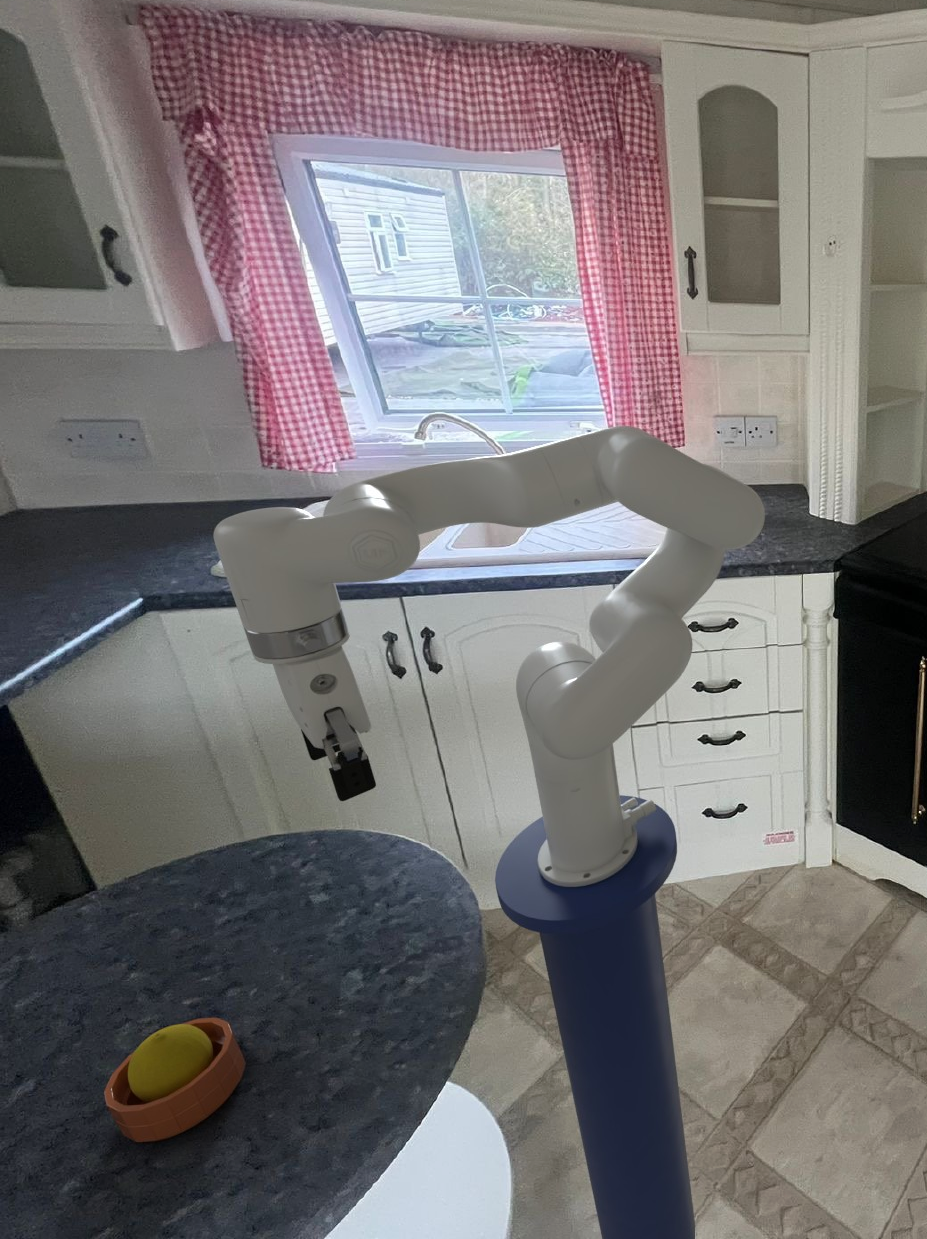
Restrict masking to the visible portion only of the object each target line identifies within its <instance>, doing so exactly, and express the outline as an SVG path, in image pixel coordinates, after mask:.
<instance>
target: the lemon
mask: <svg viewBox="0 0 927 1239" xmlns="http://www.w3.org/2000/svg"><path fill="white" fill-rule="evenodd" d="M134 1051H135V1052H134ZM134 1051H133V1052H134V1054H133V1055H132V1057H131V1059H130V1063H129V1067H128V1080H129V1084H130V1088H131V1090H132V1092H133V1093H134V1094H135V1095H136V1096H137V1097H138V1098H139V1099H141V1100H142V1101H144V1102H147V1103H150V1102H152V1101H155V1100H158V1099H161V1098H164V1097H166V1096H168V1095H170V1094H172V1093H173V1092H175V1091H177V1090H179V1089H180V1088H182V1087H184V1086H185V1085H187V1084H189V1083H190V1082H191V1081H193V1080H194V1079H195V1078H196V1077H197V1076H199V1075H200V1074H201V1073H202V1072H203V1071H204V1070H206V1069H207V1068H208V1067H209V1066H210V1065H211V1063H212V1062H213V1046H212V1043H211V1041H210V1039H209V1038H208V1036H207V1035H206V1034H205V1033H204V1032H203V1031H202V1030H201V1029H199V1028H197V1027H195V1026H192V1025H188V1024H183V1023H180V1024H173V1025H169V1026H166V1027H163V1028H161V1029H159V1030H157V1031H155V1032H153V1033H152V1034H151V1035H149V1036H147V1038H146V1039H145V1040H144V1041H142V1042H141V1043H140V1045H139V1046H138V1047H137V1048H136V1049H135V1050H134Z"/></svg>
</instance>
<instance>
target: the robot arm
mask: <svg viewBox="0 0 927 1239" xmlns="http://www.w3.org/2000/svg"><path fill="white" fill-rule="evenodd" d="M615 503H616V504H617V503H619V504H620V505H621V506H623V507H625V508H626V509H627V510H629V511H630V512H633V513H634V514H637V515H639V516H641V517H642V518H645V519H647V520H649V521H651V522H653V523H655V524H657V525H660V526H662V527H664V528H666V531H665V534H664V536H663V538H662V540H661V542H660V543H659V544H658V546H657V547H656V548H655V550H653V552H652V553H651V554H650V555H649V556H648V557H647V558H646V559H645V560H644V561H643V562H642V563H641V564H639V566H637V567H636V569H634V570H633V571H632V572H631V573H630V574H628V576H627V577H625V578H624V579H623V580H622V581H621V582H620V583H619V584H617V586H616V587H614V588H613V590H611V591H610V592H609V593H608V594H607V595H606V596H604V597H603V599H601V600H600V601H599V603H598V604H597V605H596V606H595V607H594V609H593V610H592V612H591V614H590V618H589V623H588V624H589V626H588V627H589V632H590V634H591V636H592V639H593V640H594V642H595V643H596V645H597V647H598V648H599V650H600V651H601V654H600V655H599V656H598V657H597V658H595V656H594V655H593V654H591V652H589V651H588V650H587V649H585V648H584V647H582V645H581V646H580V645H578V644H576V643H573V642H569V641H552V642H548V643H545V644H542V645H541V646H538V647H537V648H535V649H534V650H533V651H531V652H530V653H529V654H527V656H526V657H525V658H524V660H523V661H522V663H521V664H520V666H519V669H518V672H517V675H516V681H515V691H516V697H517V702H518V706H519V710H520V713H521V717H522V720H523V725H524V728H525V733H526V736H527V741H528V745H529V751H530V756H531V761H532V767H533V771H534V777H535V783H536V788H537V794H538V799H539V804H540V810H541V815H542V817H543V820H544V826H545V831H546V836H547V839H546V841H545V842H544V843H543V845H542V846H541V848H540V851H539V853H538V860H537V861H538V867H539V870H540V873H541V875H542V876H543V877H544V879H546V880H547V881H549V882H550V883H553V884H555V885H558V886H564V887H579V886H586V885H590V884H593V883H597V882H599V881H602V880H604V879H606V878H608V877H610V876H612V875H613V874H615V873H616V872H618V871H619V870H620V869H622V868H623V867H624V866H625V865H626V864H627V863H628V862H629V861H630V859H631V858H632V857H633V855H634V853H635V851H636V848H637V844H638V839H637V832H636V829H635V827H634V826H635V825H637V821H638V820H640V819H642V818H645V817H647V816H648V815H650V814H652V813H653V812H655V811H656V806H655V804H656V803H655V802H654V801H653V800H652V799H651V798H650V799H647V800H648V801H646V802H644V803H642V804H641V805H639V806H638V802H637V800H636V799H635V798H634V797H635V796H633V798H632V799H630V800H628V801H626V802H625V803H624V804H622V805H621V802H620V787H619V779H618V773H617V772H618V771H617V766H616V758H615V750H614V749H615V748H614V743H616V742H617V741H618V740H619V739H620V738H621V737H623V735H624V734H625V733H626V732H627V731H628V730H630V729H631V728H632V727H633V725H634V724H635V723H636V722H638V721H639V720H640V719H641V718H642V717H643V716H644V715H645V714H646V713H647V712H648V711H649V710H650V709H651V708H652V707H653V706H654V705H655V704H657V702H658V701H659V700H660V699H661V698H662V697H663V696H664V695H665V694H666V693H667V692H668V691H669V690H670V689H671V688H672V687H673V686H674V684H675V683H677V682H678V680H679V679H680V678H681V676H682V675H683V673H684V672H685V670H686V668H687V666H688V665H689V662H690V660H691V657H692V653H693V636H692V633H691V631H690V629H689V627H688V625H687V624H686V622H685V621H684V620H683V617H684V616H685V615H686V614H688V613H689V611H690V610H691V609H692V608H693V607H694V606H695V605H696V604H697V603H698V602H699V601H700V599H701V598H702V597H703V596H704V595H705V594H706V593H707V592H708V591H709V590H710V589H711V587H712V586H713V584H714V583H715V582H716V580H717V578H718V576H719V574H720V572H721V569H722V566H723V564H724V560H725V556H726V551H731V550H732V551H733V550H738V549H742V548H744V547H746V546H748V545H750V544H751V543H753V542H754V541H755V540H756V539H757V538H758V537H759V536H760V533H762V530H763V528H764V525H765V521H766V511H765V510H766V509H765V506H764V503H763V501H762V499H761V497H760V496H759V494H758V493H757V491H755V490H754V489H753V488H752V487H750V486H749V485H747V484H745V483H744V482H742V481H740V480H738V479H736V478H735V477H733V476H731V475H730V474H728V473H726V472H724V471H723V470H721V469H719V468H718V467H716V466H712V465H709V464H706V463H702V462H700V461H698V460H696V459H694V458H693V457H691V456H689V455H687V454H685V453H683V451H680V450H678V449H677V448H675V447H673V446H672V445H670V444H668V443H667V442H665V441H663V440H662V439H660V438H658V437H657V436H654V435H652V434H650V432H647V431H645V430H643V429H642V428H639V427H636V426H632V425H616V426H609V427H605V428H602V429H599V430H598V429H597V430H594V431H590V432H586V433H583V434H579V435H575V436H571V437H568V438H565V439H560V440H557V441H552V442H549V443H545V444H542V445H537V446H533V447H530V448H526V449H522V450H518V451H514V452H509V453H505V454H504V453H503V454H499V455H498V454H497V455H488V456H479V457H474V458H467V459H466V458H465V459H458V460H451V461H450V460H449V461H442V462H435V463H430V464H429V463H428V464H425V465H420V466H415V467H410V468H407V469H403V470H399V471H395V472H392V473H388V474H384V475H379V476H376V477H372V478H369V479H365V480H362V481H358V482H355V483H352V484H350V485H348V486H346V487H344V488H342V489H340V490H339V491H337V492H336V493H335V494H334V495H333V496H332V497H331V498H330V499H329V500H328V501H327V503H326V505H325V506H324V510H323V514H322V516H318V517H315V516H314V515H312V514H311V513H310V512H308V511H306V510H304V509H302V508H298V507H288V506H287V507H286V506H277V507H265V508H257V509H251V510H246V511H243V512H239V513H236V514H233V515H230V516H228V517H226V518H224V519H222V520H221V521H219V523H218V524H217V525H216V526H215V527H214V529H213V530H214V531H213V541H214V545H215V548H216V551H217V555H218V558H219V559H220V563H221V566H222V569H223V571H224V574H225V578H226V580H227V583H228V585H229V589H230V592H231V594H232V597H233V601H234V603H235V606H236V609H237V612H238V614H239V617H240V621H241V624H242V627H243V630H244V633H245V635H246V638H247V642H248V645H249V647H250V650H251V652H252V653H251V654H252V656H253V658H254V660H255V661H257V662H259V663H262V664H267V665H272V666H273V669H274V670H273V671H274V672H275V675H276V678H277V679H276V680H277V681H278V684H279V687H280V690H281V692H282V695H283V698H284V700H285V703H286V705H287V707H288V709H289V711H290V713H291V715H292V717H293V720H294V721H295V722H296V724H297V725H298V727H299V728H300V732H301V735H302V737H303V740H304V744H305V747H306V749H307V753H308V755H309V758H310V759H311V761H318V760H320V759H323V758H326V757H327V759H328V761H329V763H330V766H331V767H330V768H328V771H329V774H330V778H331V781H332V783H333V788H334V790H335V793H336V797H337V799H338V800H339V801H340V802H345V801H348V800H350V799H352V798H355V797H358V796H360V795H362V794H364V793H366V792H369V791H371V790H374V789H375V788H376V787H377V783H376V779H375V776H374V772H373V769H372V766H371V761H370V759H369V755H368V754H367V753H366V750H365V749H364V746H363V744H362V741H361V740H360V737H359V735H358V734H360V735H361V734H363V733H365V734H366V733H369V732H370V731H371V729H372V723H371V720H370V717H369V715H368V711H367V709H366V706H365V703H364V700H363V697H362V693H361V690H360V687H359V686H358V682H357V679H356V677H355V674H354V671H353V669H352V668H353V667H352V666H351V663H350V661H349V659H348V656H347V654H346V652H345V650H344V648H343V646H344V644H346V643H347V642H348V640H350V631H349V627H348V625H347V622H346V621H347V620H346V617H345V614H344V611H343V606H342V603H341V599H340V596H339V593H338V589H337V586H336V585H337V584H347V583H350V584H351V583H368V582H379V581H384V580H388V579H392V578H396V577H397V576H400V575H401V574H403V573H405V572H407V571H408V570H409V569H410V568H412V567H413V565H414V564H415V563H416V561H417V560H418V558H419V555H420V552H421V539H420V535H422V534H423V535H424V534H425V533H429V532H430V533H431V532H432V531H437V530H440V529H445V528H449V527H453V526H459V525H465V524H474V523H475V524H478V523H479V524H480V523H482V524H483V523H484V524H496V525H502V526H507V527H514V528H523V529H524V528H526V529H527V528H528V529H529V528H539V527H542V526H547V525H549V524H552V523H555V522H558V521H561V520H564V519H568V518H571V517H573V516H577V515H580V514H583V513H587V512H590V511H594V510H597V509H599V508H603V507H606V506H610V505H613V504H615ZM336 753H337V755H336ZM636 806H638V807H637V808H635V807H636ZM633 808H635V809H633ZM631 809H633V810H631Z"/></svg>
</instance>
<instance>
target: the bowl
mask: <svg viewBox="0 0 927 1239" xmlns="http://www.w3.org/2000/svg"><path fill="white" fill-rule="evenodd" d="M182 1024H188V1025H192V1026H195V1027H197V1028H199V1029H201V1030H202V1031H203V1032H204V1033H205V1034H206V1035H207V1036H208V1038H209V1039H210V1041H211V1043H212V1046H213V1062H212V1063H211V1065H210V1066H209V1067H208V1068H207V1069H206V1070H204V1071H203V1072H202V1073H201V1074H200V1075H199V1076H197V1077H196V1078H195V1079H194V1080H193V1081H191V1082H190V1083H189V1084H187V1085H185V1086H184V1087H182V1088H180V1089H179V1090H177V1091H175V1092H173V1093H172V1094H170V1095H168V1096H166V1097H164V1098H161V1099H158V1100H155V1101H152V1102H150V1103H147V1102H144V1101H142V1100H141V1099H139V1098H138V1097H137V1096H136V1095H135V1094H134V1093H133V1092H132V1090H131V1088H130V1084H129V1080H128V1067H129V1063H130V1059H131V1057H132V1055H133V1054H134V1052H135V1050H134V1051H133V1052H132V1053H130V1054H129V1055H128V1056H127V1057H126V1058H125V1059H124V1060H123V1061H122V1063H120V1065H119V1066H118V1067H117V1068H116V1069H115V1070H114V1071H113V1072H112V1074H111V1076H110V1078H109V1080H108V1082H107V1085H106V1087H105V1089H104V1092H103V1096H104V1100H105V1105H106V1107H107V1109H108V1110H109V1113H110V1114H111V1116H112V1118H113V1119H114V1121H115V1123H116V1124H117V1126H118V1128H119V1130H120V1132H121V1133H122V1135H123V1136H124V1137H126V1138H128V1139H129V1140H131V1141H133V1142H136V1143H145V1142H146V1143H147V1142H157V1141H162V1140H165V1139H166V1140H167V1139H169V1138H171V1137H175V1136H178V1135H180V1134H182V1133H184V1132H186V1131H188V1130H190V1129H191V1128H193V1127H195V1126H197V1125H198V1124H200V1123H202V1121H204V1120H206V1119H207V1118H208V1117H209V1116H211V1115H212V1114H213V1113H215V1112H216V1111H217V1110H218V1109H219V1108H220V1107H221V1106H222V1105H223V1104H224V1103H225V1102H226V1101H227V1100H228V1099H229V1097H230V1096H231V1095H232V1094H233V1092H234V1090H236V1087H237V1085H238V1084H239V1083H240V1082H241V1080H242V1078H243V1075H244V1071H245V1067H246V1064H247V1062H246V1059H245V1057H244V1054H243V1052H242V1049H241V1046H240V1045H239V1043H238V1040H237V1038H236V1036H235V1034H234V1032H233V1029H232V1027H231V1025H230V1023H229V1022H227V1021H226V1020H223V1019H221V1018H219V1017H203V1018H196V1019H195V1018H194V1019H192V1020H189V1021H186V1022H182Z"/></svg>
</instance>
